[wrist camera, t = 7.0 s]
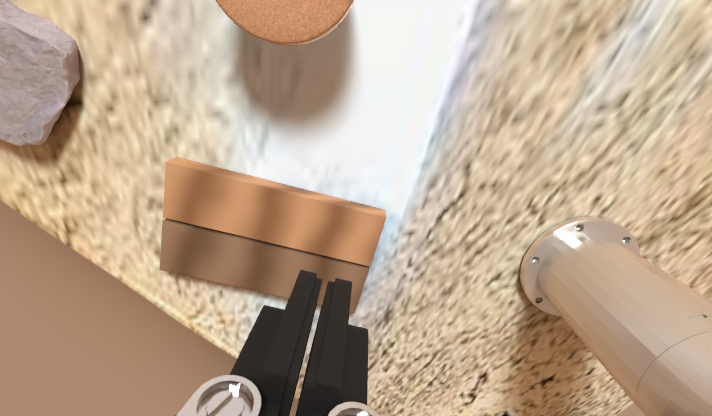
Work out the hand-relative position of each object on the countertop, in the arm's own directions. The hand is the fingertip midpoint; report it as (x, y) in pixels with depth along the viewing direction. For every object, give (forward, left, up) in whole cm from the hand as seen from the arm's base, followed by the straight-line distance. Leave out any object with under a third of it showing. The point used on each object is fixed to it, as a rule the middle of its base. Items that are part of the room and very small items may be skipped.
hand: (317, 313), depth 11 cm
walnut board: (+5, +15, -25) cm, 29 cm away
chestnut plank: (+5, +8, -25) cm, 27 cm away
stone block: (+31, +1, -26) cm, 40 cm away
